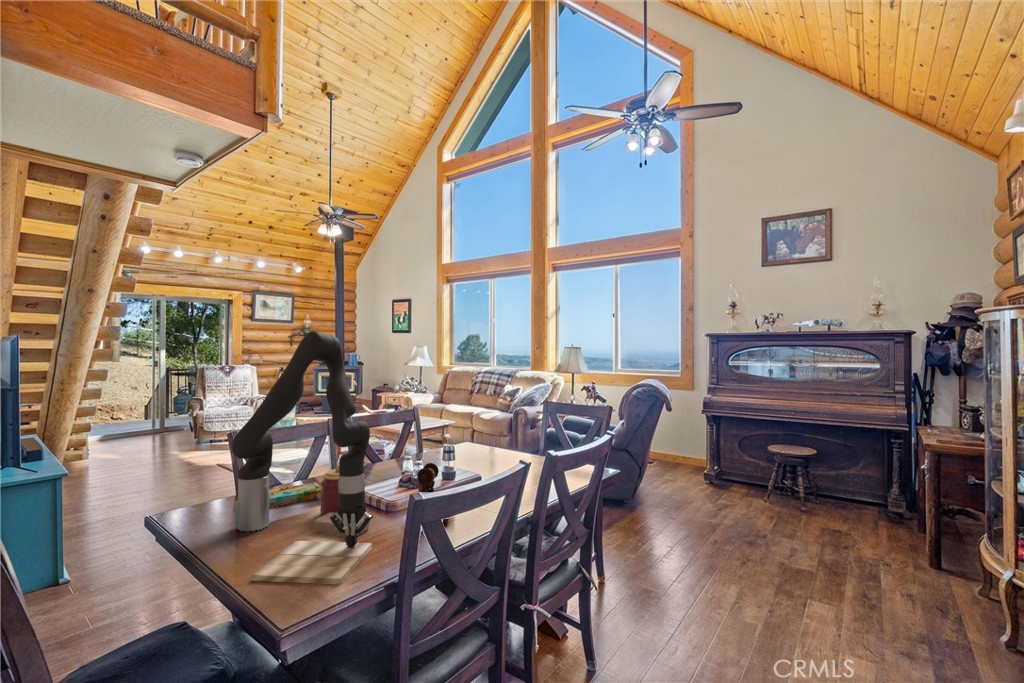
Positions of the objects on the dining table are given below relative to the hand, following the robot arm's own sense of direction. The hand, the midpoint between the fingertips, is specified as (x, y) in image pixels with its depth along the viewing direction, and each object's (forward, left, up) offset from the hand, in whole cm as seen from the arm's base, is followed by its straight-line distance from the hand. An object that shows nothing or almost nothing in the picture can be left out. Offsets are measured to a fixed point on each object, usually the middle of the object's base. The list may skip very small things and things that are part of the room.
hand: (351, 546), depth 140 cm
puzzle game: (-43, +44, -2) cm, 61 cm away
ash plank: (-7, -2, -2) cm, 7 cm away
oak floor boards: (-7, -13, -2) cm, 14 cm away
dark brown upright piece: (+17, +23, -2) cm, 29 cm away
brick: (-10, +15, -2) cm, 18 cm away
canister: (-18, +30, -2) cm, 35 cm away
